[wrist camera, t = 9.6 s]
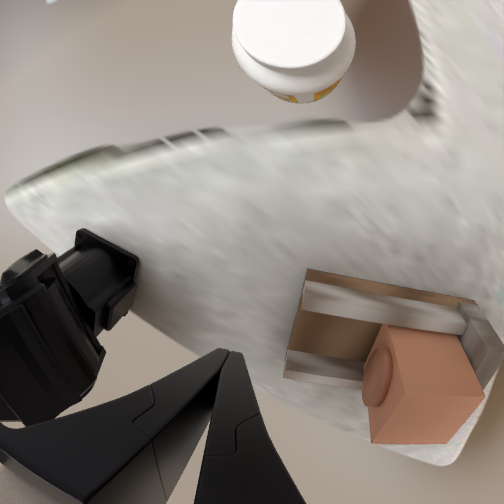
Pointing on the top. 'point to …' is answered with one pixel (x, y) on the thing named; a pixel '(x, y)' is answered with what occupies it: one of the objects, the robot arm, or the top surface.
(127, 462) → the robot arm
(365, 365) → the peach knobbed cube
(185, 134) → the top surface
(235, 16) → the supplement bottle
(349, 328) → the rail
